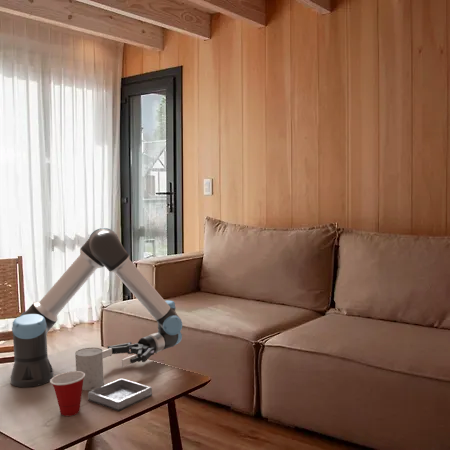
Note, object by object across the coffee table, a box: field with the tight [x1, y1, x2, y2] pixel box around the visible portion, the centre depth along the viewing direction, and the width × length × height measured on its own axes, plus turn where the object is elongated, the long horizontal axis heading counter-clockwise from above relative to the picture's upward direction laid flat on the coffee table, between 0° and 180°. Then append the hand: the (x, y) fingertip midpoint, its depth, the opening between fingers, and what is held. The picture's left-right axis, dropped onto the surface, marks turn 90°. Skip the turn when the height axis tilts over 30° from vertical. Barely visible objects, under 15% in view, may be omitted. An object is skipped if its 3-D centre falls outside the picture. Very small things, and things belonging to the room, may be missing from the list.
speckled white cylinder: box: [74, 347, 105, 391], centre depth 204 cm, size 10×10×12 cm
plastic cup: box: [49, 370, 85, 417], centre depth 181 cm, size 11×11×12 cm
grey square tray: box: [87, 377, 153, 412], centre depth 192 cm, size 15×15×3 cm
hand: (110, 359), depth 212 cm, fingers open, 13 cm apart
